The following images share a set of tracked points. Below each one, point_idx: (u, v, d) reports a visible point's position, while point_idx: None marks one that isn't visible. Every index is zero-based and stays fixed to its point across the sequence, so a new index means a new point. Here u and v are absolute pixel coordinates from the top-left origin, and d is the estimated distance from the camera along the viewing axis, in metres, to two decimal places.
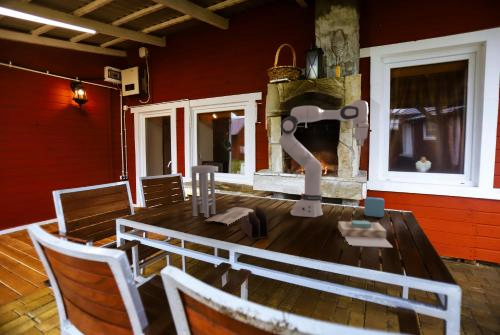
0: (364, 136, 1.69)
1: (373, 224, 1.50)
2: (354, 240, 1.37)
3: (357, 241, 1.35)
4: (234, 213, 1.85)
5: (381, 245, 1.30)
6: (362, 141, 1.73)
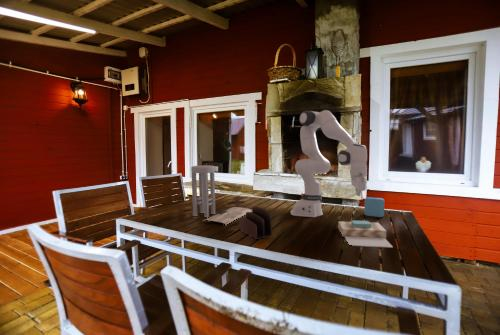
0: None
1: (373, 224, 1.50)
2: (354, 240, 1.37)
3: (357, 241, 1.35)
4: (233, 213, 1.85)
5: (381, 245, 1.30)
6: None
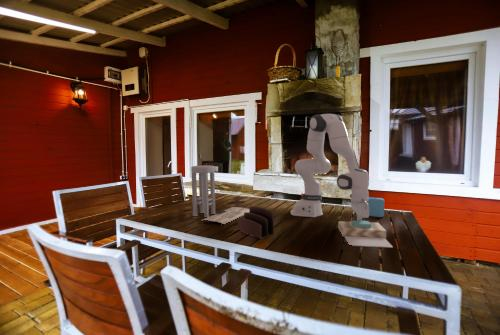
0: None
1: (373, 224, 1.50)
2: (354, 240, 1.37)
3: (357, 241, 1.35)
4: (231, 213, 1.86)
5: (381, 245, 1.30)
6: None
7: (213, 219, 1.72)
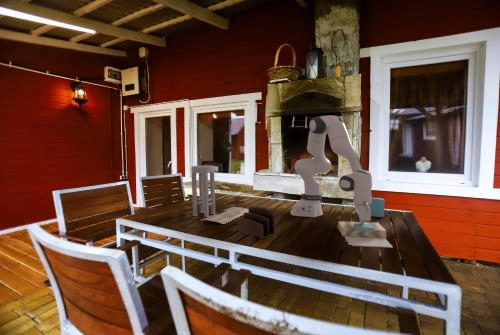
0: None
1: (373, 224, 1.50)
2: (354, 240, 1.37)
3: (357, 241, 1.35)
4: (231, 213, 1.86)
5: (381, 245, 1.30)
6: None
7: (212, 219, 1.72)
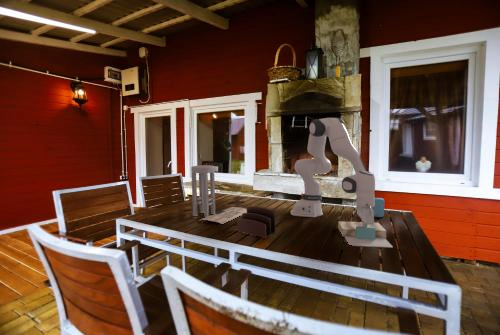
0: None
1: (373, 224, 1.50)
2: (354, 240, 1.37)
3: (357, 241, 1.35)
4: (230, 213, 1.86)
5: (381, 245, 1.30)
6: None
7: (211, 219, 1.72)
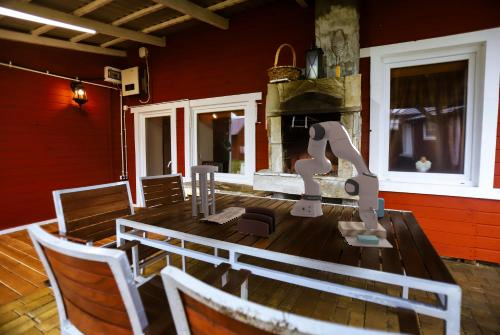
0: None
1: None
2: (354, 240, 1.37)
3: (357, 241, 1.35)
4: (229, 213, 1.86)
5: (381, 245, 1.30)
6: None
7: (211, 219, 1.72)
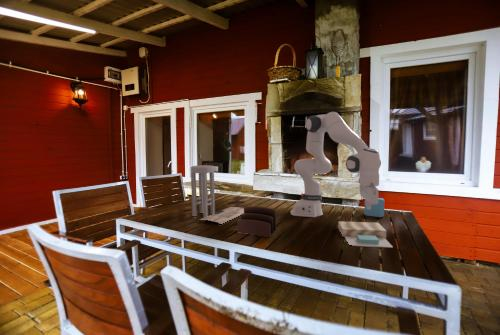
0: None
1: (373, 224, 1.50)
2: (354, 240, 1.37)
3: (357, 241, 1.35)
4: (229, 213, 1.86)
5: (381, 245, 1.30)
6: None
7: (210, 219, 1.72)
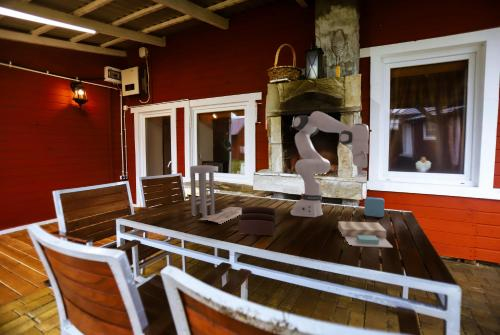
0: None
1: (373, 224, 1.50)
2: (354, 240, 1.37)
3: (357, 241, 1.35)
4: (228, 212, 1.87)
5: (381, 245, 1.30)
6: None
7: (209, 219, 1.73)
